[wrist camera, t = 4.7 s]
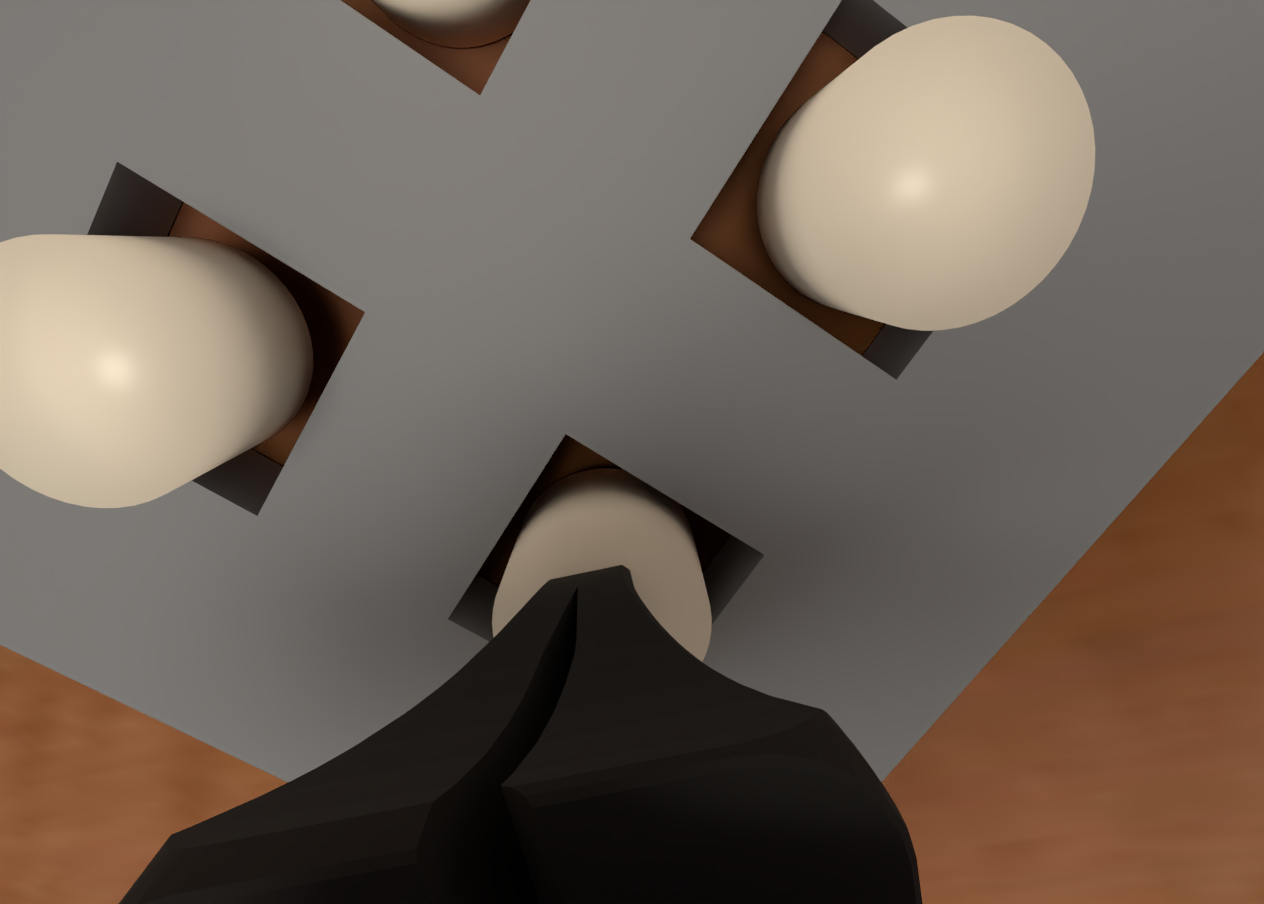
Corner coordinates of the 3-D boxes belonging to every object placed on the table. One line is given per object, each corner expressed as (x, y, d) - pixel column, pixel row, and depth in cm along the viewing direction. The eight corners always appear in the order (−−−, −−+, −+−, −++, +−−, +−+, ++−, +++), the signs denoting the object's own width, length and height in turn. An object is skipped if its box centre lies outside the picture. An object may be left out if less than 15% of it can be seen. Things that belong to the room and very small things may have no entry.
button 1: (1025, 162, 11) (1157, 135, 8) (884, 352, 12) (963, 383, 9) (847, 24, 11) (926, -54, 8) (713, 233, 11) (741, 229, 9)
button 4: (349, 315, 12) (265, 336, 9) (260, 486, 13) (156, 553, 10) (145, 192, 11) (-14, 173, 8) (66, 379, 12) (-103, 419, 9)
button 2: (729, 527, 14) (755, 595, 11) (632, 659, 15) (634, 753, 12) (577, 434, 14) (565, 483, 11) (485, 577, 14) (452, 655, 12)
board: (1393, 78, 12) (1533, 47, 10) (695, 900, 17) (704, 981, 16) (234, -968, 9) (125, -1304, 7) (-220, 443, 14) (-355, 474, 12)
